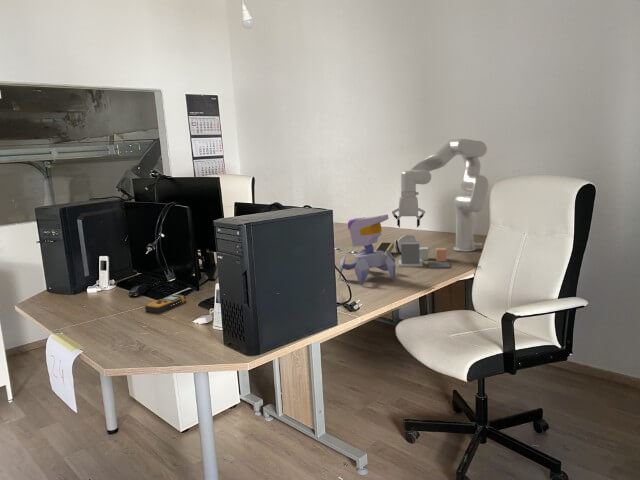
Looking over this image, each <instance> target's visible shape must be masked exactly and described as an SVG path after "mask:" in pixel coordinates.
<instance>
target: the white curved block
mask: <svg viewBox="0 0 640 480" xmlns="http://www.w3.org/2000/svg"><path fill="white" fill-rule="evenodd" d="M416 239H417V238H416V237H415V235H411V234H409V235H408V234H407V235H403V236H400V237H397V238H396V239H395V241H394V247H395V251H396V254H399V253H401V242H417V240H416ZM419 247H420V245H419Z"/></svg>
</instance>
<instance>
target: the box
mask: <svg viewBox="0 0 640 480" xmlns="http://www.w3.org/2000/svg"><path fill="white" fill-rule="evenodd" d="M394 242H395V241H394ZM394 242H393V241H391V242H390V241H379V244H378V245H377V246H376V248H375V249H374V251H383V252H384V255H385V252H386V250H387V251H388V252H389V253H391V252H392V250H393V249H394V247H395V243H394ZM385 259H386V255H385Z"/></svg>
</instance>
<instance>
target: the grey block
mask: <svg viewBox="0 0 640 480" xmlns="http://www.w3.org/2000/svg"><path fill="white" fill-rule="evenodd" d="M419 256H420V260H422V261H429V247H428V246H423V247H422V246H421V247H419Z"/></svg>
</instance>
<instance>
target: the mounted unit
mask: <svg viewBox="0 0 640 480" xmlns="http://www.w3.org/2000/svg"><path fill="white" fill-rule="evenodd" d="M419 246H420V242H419V241H416V242H401V252H400V254H401V256H400V257H401V258H400V259H398V261H397V262H398V267H399V268H401V267H402V268H403V267H404V268H405V267H406V268H408V267H413V268H415V267H424V265H423V264H424V263H423V260H420V256H419Z"/></svg>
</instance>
